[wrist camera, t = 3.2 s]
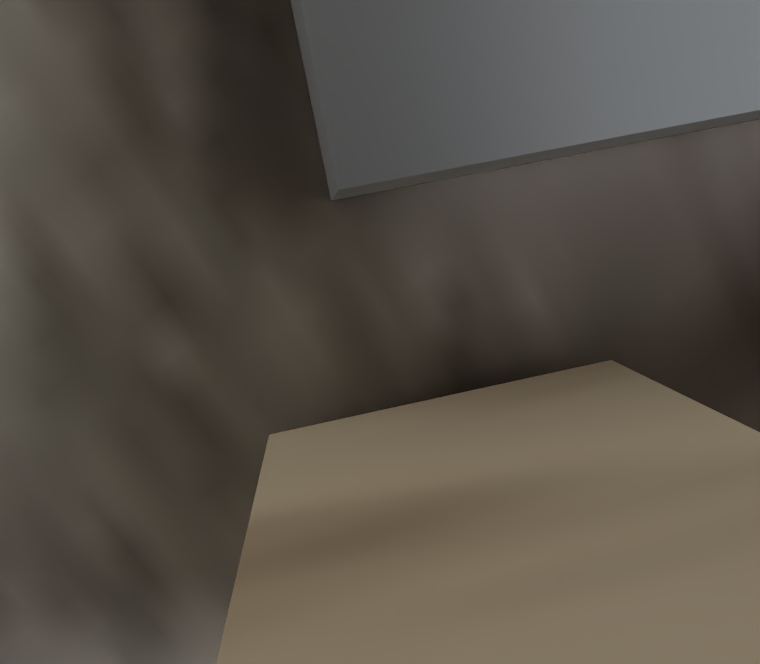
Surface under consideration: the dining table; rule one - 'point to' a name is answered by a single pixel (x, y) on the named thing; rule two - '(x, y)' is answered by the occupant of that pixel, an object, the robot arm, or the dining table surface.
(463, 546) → the birch cube
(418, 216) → the dining table surface
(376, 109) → the slate board
